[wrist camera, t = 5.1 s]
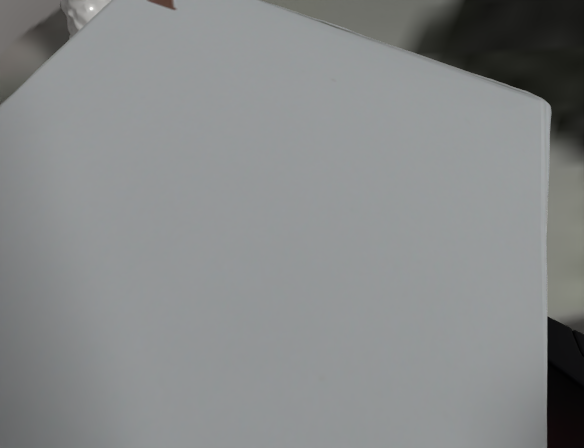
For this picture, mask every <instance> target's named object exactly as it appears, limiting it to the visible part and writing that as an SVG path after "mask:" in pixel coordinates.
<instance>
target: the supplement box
mask: <svg viewBox="0 0 584 448" xmlns="http://www.w3.org/2000/svg"><path fill="white" fill-rule="evenodd" d="M550 122H551V106H550V105H549V104H548V103H547V102H546V101H545V100H544V99H542V98H540V97H538V96H535V95H533V94H531V93H529V92H527V91H524V90H521V89H517V88H514V87H511V86H509V85H506V84H503V83H500V82H497V81H495V80H492V79H489V78H485V77H482V76H479V75H476V74H473V73H470V72H467V71H464V70H461V69H458V68H455V67H452V66H450V65H447V64H444V63H441V62H438V61H435V60H433V59H430V58H427V57H424V56H421V55H418V54H415V53H412V52H410V51H407V50H404V49H401V48H398V47H395V46H392V45H389V44H386V43H383V42H380V41H378V40H375V39H372V38H369V37H366V36H363V35H360V34H358V33H355V32H353V31H351V30H349V29H346V28H343V27H340V26H337V25H334V24H331V23H328V22H325V21H322V20H318V19H315V18H312V17H309V16H306V15H303V14H300V13H297V12H294V11H292V10H289V9H286V8H283V7H280V6H277V5H273V4H270V3H268V2H265V1H262V0H111V1H110V2H109V3H108V4H107V5H106V6H105V7H103V8H102V9H101V10H100V11H99V12H98V13H97V14H96V15H95V16H94V17H93V18H92V19H91V20H90V21H89V22H87V23H86V24H85V25H84V26H83V27H82V28H81V29H80V30H79V31H78V32H77V33H76V34H75V35H74V36H73V37H72V38H71V39H69V40H68V41H67V42H66V43H65V44H64V45H63V46H62V47H61V48H60V49H59V50H58V51H57V52H56V53H55V54H53V55H52V56H51V57H50V58H49V59H48V60H47V61H46V62H45V63H44V64H43V65H42V66H41V67H39V68H38V69H37V70H36V71H35V72H34V73H33V74H32V75H31V76H30V77H29V78H28V79H27V80H26V81H25V82H24V83H23V84H22V85H21V86H20V87H19V88H18V89H17V90H16V91H15V92H14V93H13V94H12V95H10V96H9V97H8V98H7V99H6V100H5V101H4V102H3V103H2V104H1V105H0V448H547V250H546V235H547V210H548V186H549V155H550Z"/></svg>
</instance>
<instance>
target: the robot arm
mask: <svg viewBox="0 0 584 448" xmlns="http://www.w3.org/2000/svg"><path fill="white" fill-rule="evenodd" d="M547 448H584V334H582V333H580V332H578V331H576V330H573V331H572V330H571V328H570V327H568V326H566V325H563V324H561V323H559V322H557V321H555V320H553V319H551V318H549V317H547Z"/></svg>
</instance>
